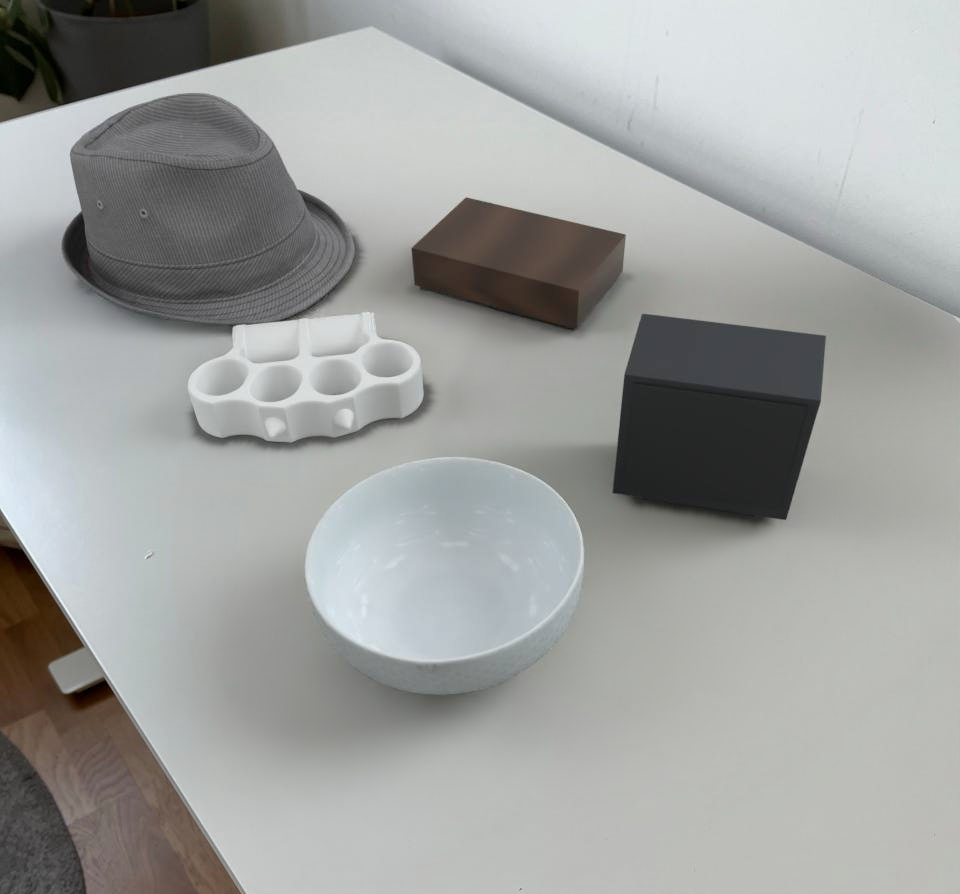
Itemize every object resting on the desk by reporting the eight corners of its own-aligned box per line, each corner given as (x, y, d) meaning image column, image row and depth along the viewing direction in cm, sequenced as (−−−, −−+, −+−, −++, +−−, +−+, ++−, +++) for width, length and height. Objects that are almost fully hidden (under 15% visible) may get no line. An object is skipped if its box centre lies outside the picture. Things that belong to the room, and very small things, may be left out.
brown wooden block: (622, 276, 89) (626, 234, 86) (576, 333, 84) (578, 290, 81) (467, 237, 94) (465, 196, 91) (414, 289, 89) (411, 247, 86)
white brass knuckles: (413, 331, 85) (431, 439, 75) (202, 353, 83) (194, 465, 74) (410, 295, 82) (427, 403, 73) (192, 317, 81) (182, 430, 72)
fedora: (239, 366, 82) (202, 223, 72) (14, 280, 92) (-45, 145, 82) (403, 235, 95) (389, 99, 85) (190, 172, 104) (157, 44, 95)
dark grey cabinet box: (627, 442, 74) (642, 313, 66) (790, 465, 72) (826, 335, 64) (610, 505, 70) (623, 376, 62) (782, 533, 68) (820, 402, 59)
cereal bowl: (388, 509, 71) (377, 430, 65) (611, 566, 66) (620, 487, 61) (272, 688, 61) (248, 613, 55) (526, 768, 56) (527, 695, 51)
